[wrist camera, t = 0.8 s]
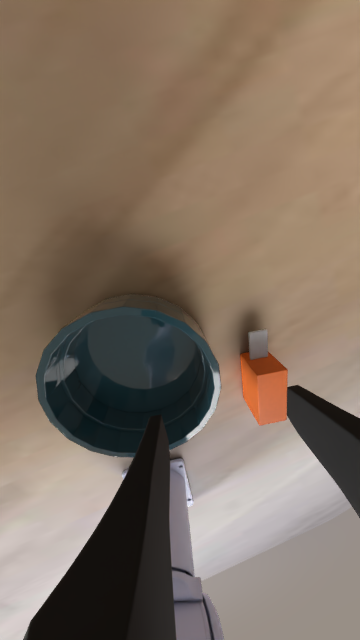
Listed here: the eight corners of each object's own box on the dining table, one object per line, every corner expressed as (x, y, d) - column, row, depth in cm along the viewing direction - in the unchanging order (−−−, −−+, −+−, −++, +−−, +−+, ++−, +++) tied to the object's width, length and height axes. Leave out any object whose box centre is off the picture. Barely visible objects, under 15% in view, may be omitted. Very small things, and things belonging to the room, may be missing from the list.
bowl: (214, 400, 23) (227, 439, 18) (94, 425, 22) (75, 471, 17) (197, 280, 18) (209, 290, 13) (44, 309, 17) (0, 329, 13)
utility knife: (266, 392, 23) (286, 420, 19) (243, 397, 23) (259, 426, 19) (264, 323, 20) (288, 339, 16) (238, 328, 20) (255, 345, 16)
